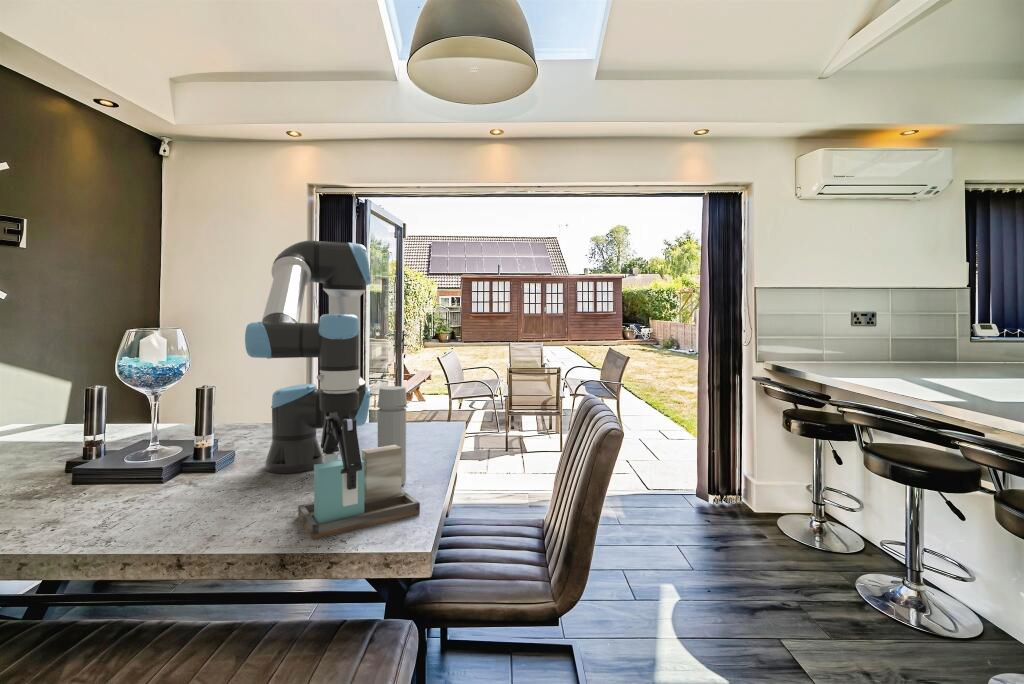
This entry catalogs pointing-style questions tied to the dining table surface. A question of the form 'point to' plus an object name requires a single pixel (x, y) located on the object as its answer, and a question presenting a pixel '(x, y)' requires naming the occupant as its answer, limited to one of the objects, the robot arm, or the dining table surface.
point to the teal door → (334, 493)
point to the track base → (370, 496)
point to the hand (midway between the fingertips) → (339, 493)
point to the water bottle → (393, 421)
